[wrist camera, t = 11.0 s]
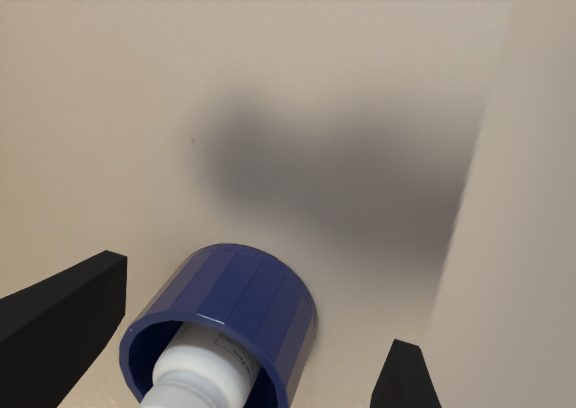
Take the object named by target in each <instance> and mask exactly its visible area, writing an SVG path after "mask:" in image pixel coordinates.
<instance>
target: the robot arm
mask: <svg viewBox="0 0 576 408" xmlns="http://www.w3.org/2000/svg"><path fill="white" fill-rule="evenodd" d="M126 282H127V256H124V255H121V254H117V253H114V252H111V251H108V250H106V251H103V252H101V253H99V254H97V255H95V256H93V257H91V258H89V259H86V260H84V261H82V262H80V263H78V264H76V265H74V266H72V267H70V268H68V269H66V270H64V271H62V272H60V273H58V274H56V275H53V276H51V277H49V278H47V279H45V280H43V281H41V282H39V283H37V284H34V285H32V286H30V287H28V288H25V289H23V290H20V291H18V292H16V293H13V294H11V295H9V296H6V297H4V298H2V299H0V408H57V407H58V405H59V404H60V403H61V402H62V400H63V399H64V398H65V397H66V395H67V394H68V393H69V392H70V391H71V389H72V388H73V387H74V386H75V384H76V383H77V382H78V381H79V379H80V378H81V377H82V376H83V374H84V373H85V372H86V371H87V370H88V368H89V367H90V366H91V365H92V363H93V362H94V361H95V359H96V358H97V357H98V356H99V354H100V353H101V352H102V351H103V349H104V348H105V347H106V345H107V344H108V342H109V340H110V339H111V337H112V336H113V334H114V333H115V331H116V329H117V327H118V326H119V324H120V322H121V321H122V319H123V317H124V316H125V306H126ZM370 408H442V407H441V405H440V402H439V400H438V397H437V394H436V392H435V389H434V387H433V384H432V381H431V378H430V375H429V373H428V370H427V367H426V364H425V361H424V358H423V354H422V351H421V349H420V348H419V346H416V345H413V344H410V343H407V342H403V341H400V340H397V339H394V341H393V344H392V346H391V349H390V351H389V354H388V356H387V358H386V361H385V363H384V366H383V368H382V371H381V373H380V376H379V378H378V380H377V383H376V385H375V388H374V390H373V393H372V397H371V403H370Z"/></svg>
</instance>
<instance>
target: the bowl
mask: <svg viewBox="0 0 576 408" xmlns="http://www.w3.org/2000/svg"><path fill="white" fill-rule="evenodd" d="M184 321H185V322H194V323H199V324H201V325H204V326H207V327H209V328H212V329H215V330H218V331H220V332H223V333H224V334H226V335H227V336H229V337H230V338H232V339H234V340H235V341H237V342H238V343H240V344H241V345H243V346H244V347H246V348H247V349H248V350H249V351H250V352H251V353H252V355H253V356H254V357H255V358H256V359H257V360H258V361H259V362H260V363H261V364H262V366H261V368H260V371H259V373H258V376H257V378H256V380H255V383H254V385H253V387H252V389H251V391H250V394H249V396H248V398H247V400H246V403H245V405H244V407H243V408H291V405H292V402H293V400H294V397H295V394H296V391H297V388H298V385H299V382H300V379H301V376H302V373H303V370H304V367H305V365H306V362H307V359H308V356H309V353H310V350H311V347H312V343H313V340H314V337H315V334H316V329H317V315H316V310H315V306H314V303H313V300H312V298H311V296H310V294H309V292H308V290H307V289H306V287H305V285H304V284H303V283H302V281H301V280H300V279H299V278H298V277H297V276H296V275H295V274H294V273H293V272H292V270H290V269H289V268H288V267H287V266H285V265H284V264H283V263H281V262H280V261H278V260H277V259H275V258H274V257H272V256H270V255H268V254H266V253H264V252H261V251H259V250H256V249H253V248H250V247H246V246H241V245H232V244H223V245H214V246H210V247H206V248H204V249H201V250H199V251H197V252H195V253H194V254H192V255H191V256H190V257H188V258H187V259H186V260H185V262H184V263H183V264H182V265H180V266H179V267H178V268H177V270H176V271H175V272H174V273H173V274H172V276H171V277H170V278H169V279H168V280H167V281H166V283H165V284H164V285H163V286H162V287H161V289H160V290H159V291H158V292H157V293H156V295H155V296H154V297H153V298H152V299H151V301H150V302H149V303H148V304H147V305H146V307H145V308H144V309H143V310H142V311H141V312H140V314H139V315H138V316H137V317H136V318H135V320H134V321H133V322H132V323H131V324H130V326H129V327H128V328H127V330H126V332H125V334H124V336H123V338H122V340H121V342H120V346H119V363H120V364H119V365H120V368H121V370H122V373H123V376H124V379H125V382H126V384H127V386H128V387H129V389H130V390H131V392H132V393H133V395H134V396H135V398H136V399H137V401H138V402H139V403H141V402H142V400H143V398H144V397H145V395H146V393H147V392H149V391H150V390H151V388H152V387H153V386H154V385H153V370H154V367H155V364H156V362H157V361H158V359H159V357H160V356H161V354H162V353H163V351H164V350H165V349H166V347H167V346H168V344H169V343H170V341H171V340H172V339H173V337H174V336H175V334H176V333H177V331H178V330H179V329H180V327H181V326H182V324H183V323H184Z"/></svg>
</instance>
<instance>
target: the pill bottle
mask: <svg viewBox="0 0 576 408" xmlns="http://www.w3.org/2000/svg"><path fill="white" fill-rule="evenodd" d="M261 366H262V364H261V363H260V362H259V361H258V360H257V359H256V358H255V357H254V356H253V355H252V353H251V352H250V351H249V350H248V349H247V348H246V347H244V346H243V345H241V344H240V343H238V342H237V341H235V340H234V339H232V338H230V337H229V336H227V335H226V334H224V333H223V332H220V331H218V330H215V329H212V328H209V327H207V326H204V325H201V324H199V323H194V322H185V321H184V323H183V324H182V326H181V327H180V329H179V330H178V331H177V333H176V334H175V336H174V337H173V339H172V340H171V341H170V343H169V344H168V346H167V347H166V349H165V350H164V351H163V353H162V354H161V356H160V357H159V359H158V361H157V362H156V364H155V367H154V370H153V385H154V386H153V387H152V388H151V390H150V391H149V392H147V393H146V395H145V397H144V398H143V400H142V402H141V403H140V405H139V406H138V408H243V407H244V405H245V403H246V400H247V398H248V396H249V394H250V391H251V389H252V387H253V385H254V383H255V380H256V378H257V376H258V373H259V371H260V368H261Z"/></svg>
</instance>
